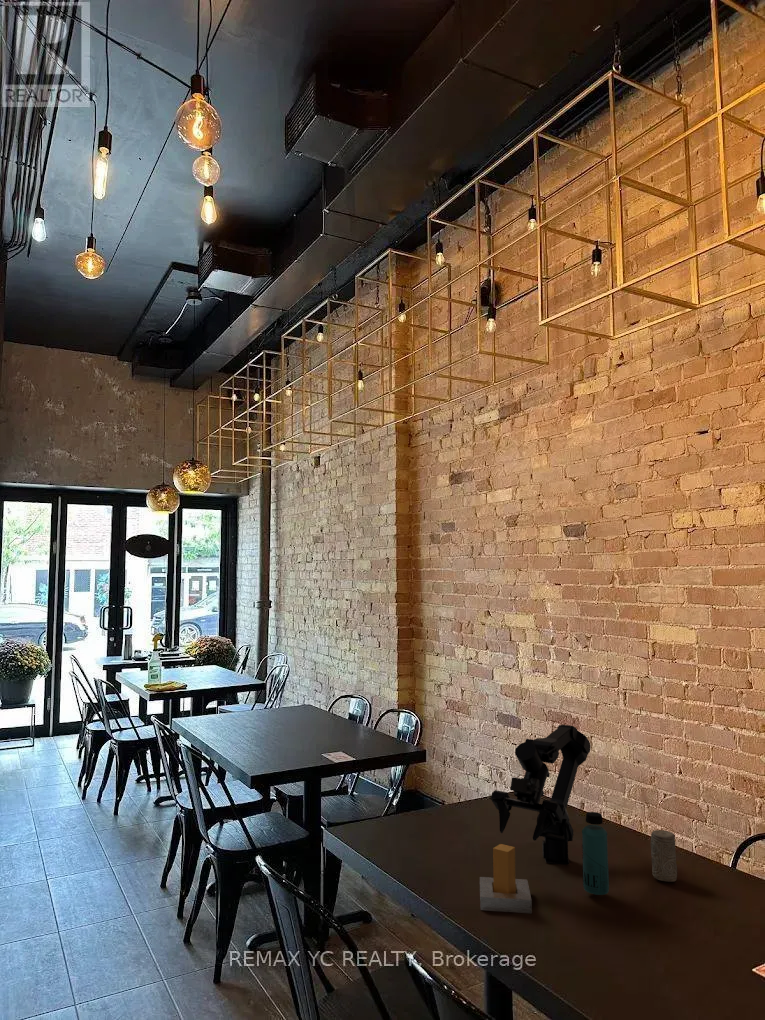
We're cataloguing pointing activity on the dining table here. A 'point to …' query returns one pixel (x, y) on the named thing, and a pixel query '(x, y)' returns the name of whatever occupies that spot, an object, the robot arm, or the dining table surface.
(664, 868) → the decorative vessel
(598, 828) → the beverage bottle
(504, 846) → the orange rectangular block
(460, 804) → the dining table surface
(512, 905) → the gray square socket base
